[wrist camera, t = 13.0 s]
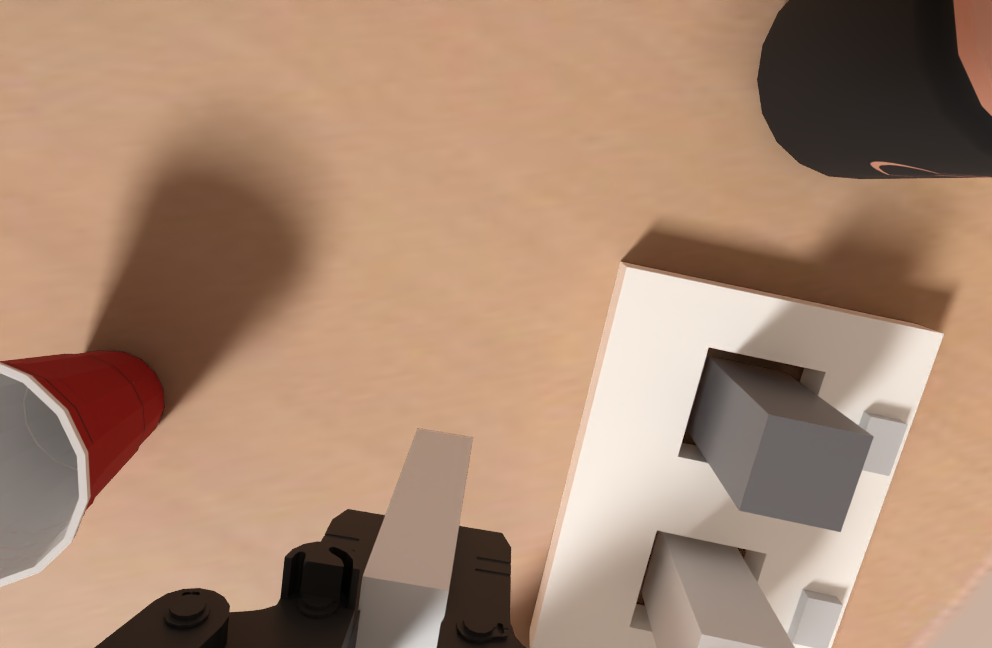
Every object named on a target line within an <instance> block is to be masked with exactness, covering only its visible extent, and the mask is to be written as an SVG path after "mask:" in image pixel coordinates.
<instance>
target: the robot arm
mask: <svg viewBox="0 0 992 648" xmlns="http://www.w3.org/2000/svg"><path fill="white" fill-rule="evenodd" d="M472 441H473V437H468V436H462V435H456V434H450V433H444V432H438V431H432V430H427V429H421V428H418V429H417V431H416V434H415V437H414V439H413V442H412V445H411V448H410V450H409V453H408V456H407V458H406V461H405V464H404V466H403V469H402V472H401V474H400V477H399V480H398V482H397V485H396V488H395V491H394V493H393V496H392V499H391V501H390V504H389V507H388V509H387V512H386V515H380V514H374V513H368V512H362V511H356V510H350V509H347V510H346V511H344V512H343V513H341V514H340V515H338V516H337V517H335V518H334V519H333V520H332V521H331V523H330V525H329V527H328V529H327V531H326V533H325V536H324V537H323V539H322V541H321V542H313V543H307V544H303V545H301V546H299V547H297V548H294V549H292V550H291V551H290V552H289V553H288V554H287V555H286V556H285V560H284V569H283V579H282V589H281V598H280V600H279V602H278V604H277V605H275V606H272V607H269V608H266V609H262V610H255V611H244V612H229V609H230V605H229V604H228V602H227V601H226V599H225V597H223V596H222V595H220V594H218V593H216V592H215V591H211V590H206V589H201V588H194V589H182V590H178V591H175V592H171V593H168V594H166V595H164V596H162V597H161V598H159V599H157V600H155V601H154V602H152V603H151V604H150V605H148V606H147V607H146V608H145V609H143V610H142V611H141V612H140V613H138V614H137V615H136V616H134V617H133V618H132V619H131V620H129V621H128V622H127V623H125V624H124V625H123V626H122V627H120V628H119V629H118V630H116V631H115V632H114V633H113V634H111V635H110V636H109V637H107V638H106V639H105V640H104V641H102V642H101V643H100V644H99V645H97V646H96V647H95V648H526V647H524V646H523V645H522V644H521V643H520V642H519V641H518V639H517V638H516V637H515V635H514V632H513V629H512V626H511V624H510V584H511V577H510V575H511V565H510V564H511V547H510V545H509V543H508V542H507V540H506V539H505V537H504V535H503V534H502V533H498V532H492V531H486V530H480V529H474V528H468V527H462V526H459V523H460V517H461V511H462V504H463V498H464V492H465V485H466V479H467V473H468V467H469V460H470V454H471V448H472Z"/></svg>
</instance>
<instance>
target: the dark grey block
mask: <svg viewBox="0 0 992 648" xmlns="http://www.w3.org/2000/svg"><path fill="white" fill-rule="evenodd" d="M686 430H687V431H688V433H689V434H690V436H691V437H692V439H693V440H694V442H695V443H696V445H697V447H698V448H699V450H700V451H701V453H702V454H703V456H704V457H705V459H706V460H707V462H708V464H709V465H710V467H711V468H712V470H713V471H714V473H715V474H716V476H717V477H718V479H719V481H720V482H721V484H722V485H723V487H724V488H725V490H726V491H727V493H728V494H729V496H730V497H731V499H732V501H733V502H734V504H735V505H736V507H737V508H738V510H739V511H743V512H748V513H753V514H757V515H762V516H767V517H771V518H776V519H781V520H786V521H790V522H795V523H800V524H805V525H809V526H814V527H819V528H823V529H828V530H833V531H838V532H841V530H842V527H843V524H844V521H845V518H846V515H847V512H848V509H849V507H850V504H851V501H852V498H853V495H854V492H855V489H856V486H857V484H858V481H859V478H860V475H861V472H862V469H863V466H864V463H865V461H866V458H867V455H868V452H869V449H870V446H871V443H872V441H873V438H874V436H872V435H871V434H870V433H868V432H867V431H866V430H864V429H863V428H861V427H860V426H859V425H857V424H856V423H855V422H853V421H852V420H850V419H849V418H848V417H846V416H845V415H844V414H842V413H841V412H839V411H838V410H837V409H835V408H834V407H833V406H831V405H830V404H828V403H827V402H826V401H824V400H823V399H822V398H820V397H819V396H818V395H816V394H815V393H813V392H812V391H811V390H809V389H808V388H807V387H805V386H804V385H802V384H801V383H800V382H798V381H797V380H796V379H794V378H793V377H791V376H790V375H789V374H787V373H786V372H782V371H777V370H773V369H768V368H763V367H758V366H754V365H749V364H744V363H739V362H735V361H730V360H725V359H721V358H716V357H711V356H707V359H706V362H705V366H704V369H703V373H702V376H701V380H700V383H699V387H698V391H697V394H696V398H695V401H694V405H693V408H692V412H691V415H690V419H689V422H688V426H687V429H686Z"/></svg>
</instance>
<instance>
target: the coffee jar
mask: <svg viewBox="0 0 992 648" xmlns="http://www.w3.org/2000/svg"><path fill="white" fill-rule="evenodd" d="M757 82H758V88H759V95H760V102H761V109H762V114H763V116H764V118H765V120H766V122H767V124H768V126H769V128H770V129H771V131H772V133H773V135H774V137H775V139H776V141H777V143H779V144H780V145H781V146H782V147H783V148H784V149H785V150H786V151H787V152H788V153H789V154H790V155H791V156H792V157H793V158H794V159H795V160H797V161H798V162H799V163H800V164H802V165H804V166H806V167H809V168H811V169H813V170H816V171H818V172H820V173H822V174H825V175H827V176H832V177H843V178H855V179H898V178H974V177H992V0H789V1H788V2H787V3H786V4H785V6H784V7H783V8H782V9H781V10H780V11H779V12H778V14H777V16H776V19H775V21H774V23H773V25H772V27H771V29H770V31H769V33H768V35H767V37H766V39H765V42H764V44H763V47H762V53H761V59H760V66H759V72H758V78H757Z"/></svg>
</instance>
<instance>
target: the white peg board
mask: <svg viewBox="0 0 992 648" xmlns="http://www.w3.org/2000/svg"><path fill="white" fill-rule="evenodd" d="M943 335H944V334H943V333H940V332H938V331H935V330H932V329H929V328H927V327H924V326H921V325H918V324H915V323H910V322H905V321H900V320H896V319H891V318H886V317H881V316H877V315H872V314H867V313H862V312H858V311H853V310H848V309H843V308H839V307H834V306H829V305H825V304H820V303H815V302H810V301H806V300H801V299H796V298H791V297H787V296H782V295H777V294H772V293H768V292H763V291H758V290H754V289H749V288H744V287H739V286H735V285H730V284H725V283H720V282H716V281H711V280H706V279H701V278H697V277H692V276H687V275H682V274H678V273H673V272H668V271H664V270H659V269H654V268H649V267H645V266H640V265H635V264H630V263H626V262H621V261H620V265H619V269H618V273H617V277H616V281H615V285H614V289H613V293H612V297H611V301H610V305H609V309H608V313H607V317H606V321H605V326H604V330H603V334H602V338H601V342H600V346H599V350H598V354H597V358H596V362H595V366H594V370H593V374H592V378H591V382H590V386H589V390H588V394H587V398H586V402H585V407H584V411H583V415H582V419H581V423H580V427H579V431H578V435H577V439H576V443H575V447H574V451H573V455H572V459H571V463H570V467H569V471H568V475H567V479H566V483H565V488H564V492H563V496H562V500H561V504H560V508H559V512H558V516H557V520H556V524H555V528H554V532H553V536H552V540H551V544H550V548H549V552H548V556H547V560H546V565H545V569H544V573H543V577H542V581H541V585H540V589H539V593H538V597H537V601H536V605H535V609H534V613H533V617H532V621H531V625H530V648H831V646H832V644H833V641H834V638H835V635H836V633H837V630H838V627H839V624H840V621H841V619H842V616H843V613H844V610H845V608H846V605H847V602H848V599H849V596H850V594H851V591H852V588H853V585H854V583H855V580H856V577H857V574H858V571H859V569H860V566H861V563H862V560H863V558H864V555H865V552H866V549H867V546H868V544H869V541H870V538H871V535H872V533H873V530H874V527H875V524H876V521H877V519H878V516H879V513H880V510H881V508H882V505H883V502H884V499H885V496H886V494H887V491H888V488H889V485H890V483H891V480H892V477H893V474H894V471H895V469H896V466H897V463H898V460H899V458H900V455H901V452H902V449H903V446H904V444H905V441H906V438H907V435H908V433H909V430H910V427H911V424H912V421H913V419H914V416H915V413H916V410H917V408H918V405H919V402H920V399H921V396H922V394H923V391H924V388H925V385H926V383H927V380H928V377H929V374H930V371H931V369H932V366H933V363H934V360H935V358H936V355H937V352H938V349H939V346H940V344H941V341H942V338H943ZM708 348H714V349H719V350H724V351H728V352H733V353H738V354H743V355H747V356H752V357H757V358H762V359H766V360H771V361H776V362H780V363H785V364H790V365H795V366H799V367H804V370H803V373H802V376H801V380H800V383H801V384H802V385H804V386H805V387H807V388H808V389H809V390H811V391H812V392H813V393H815V394H816V395H818V396H819V397H820V398H822V399H823V400H824V401H826V402H827V403H828V404H830V405H831V406H833V407H834V408H835V409H837V410H838V411H839V412H841V413H842V414H844V415H845V416H846V417H848V418H849V419H850V420H852V421H853V422H855V423H856V424H857V425H859V426H860V427H861V428H863V429H864V430H866V431H867V432H868V433H870V434H871V435H872V436H874V438H873V441H872V443H871V446H870V449H869V452H868V455H867V458H866V461H865V463H864V466H863V469H862V472H861V475H860V478H859V481H858V484H857V486H856V489H855V492H854V495H853V498H852V501H851V504H850V507H849V509H848V512H847V515H846V518H845V521H844V524H843V527H842V530H841V532H838V531H833V530H828V529H823V528H819V527H814V526H809V525H805V524H800V523H795V522H790V521H786V520H781V519H776V518H771V517H767V516H762V515H757V514H753V513H748V512H743V511H739V510H738V508H737V507H736V505H735V504H734V502H733V501H732V499H731V497H730V496H729V494H728V493H727V491H726V490H725V488H724V487H723V485H722V484H721V482H720V481H719V479H718V477H717V476H716V474H715V473H714V471H713V470H712V468H711V467H710V465H709V464H708V462H707V460H706V459H705V457H704V456H703V454H702V453H701V451H700V450H699V448H698V447H697V446H695V445H691V444H686V443H682V440H683V436H684V433H685V429H686V426H687V422H688V419H689V415H690V412H691V408H692V405H693V401H694V398H695V394H696V391H697V387H698V383H699V380H700V376H701V373H702V369H703V366H704V362H705V359H706V355H707V352H708ZM657 531H658V534H657V537H656V541H655V544H654V548H653V552H652V555H651V559H650V562H649V566H648V569H647V573H646V576H645V580H644V583H643V587H642V590H641V593H642V597H643V600H644V604H645V606H644V605H639V604H636V602H637V599H638V595H639V592H640V588H641V585H642V581H643V578H644V574H645V571H646V567H647V563H648V560H649V556H650V553H651V549H652V546H653V542H654V539H655V535H656V532H657ZM738 548H742V549H747V550H746V553H745V556H744V559H743V557H742V555H741V553H740V552H739V550H738Z"/></svg>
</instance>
